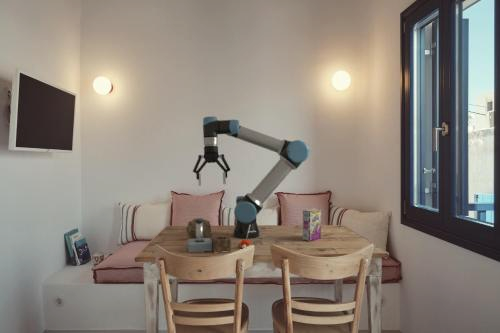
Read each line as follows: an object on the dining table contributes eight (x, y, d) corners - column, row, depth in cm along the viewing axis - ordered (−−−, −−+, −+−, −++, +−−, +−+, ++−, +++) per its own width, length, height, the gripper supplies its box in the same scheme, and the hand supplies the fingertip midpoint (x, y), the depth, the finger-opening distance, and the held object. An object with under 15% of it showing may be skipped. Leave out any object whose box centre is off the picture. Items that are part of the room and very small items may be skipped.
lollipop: (257, 249, 168) (257, 225, 168) (238, 249, 167) (237, 225, 167) (256, 246, 174) (255, 222, 174) (237, 246, 173) (237, 223, 173)
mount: (227, 247, 171) (227, 235, 171) (230, 251, 163) (230, 239, 163) (211, 248, 169) (211, 236, 169) (214, 253, 161) (214, 240, 161)
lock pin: (203, 247, 171) (203, 218, 171) (204, 250, 167) (204, 219, 166) (194, 248, 170) (194, 218, 170) (195, 250, 166) (195, 220, 165)
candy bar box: (309, 241, 182) (309, 211, 182) (302, 240, 186) (302, 210, 186) (321, 238, 190) (321, 209, 190) (314, 236, 194) (314, 208, 194)
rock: (214, 238, 194) (210, 222, 193) (189, 246, 192) (185, 229, 190) (211, 228, 214) (207, 213, 212) (188, 234, 211) (184, 219, 210)
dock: (209, 245, 175) (209, 237, 175) (212, 251, 164) (212, 243, 164) (187, 247, 172) (187, 239, 172) (189, 252, 162) (189, 244, 162)
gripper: (188, 145, 176) (190, 186, 176) (235, 144, 184) (236, 184, 184) (186, 146, 183) (188, 185, 183) (231, 145, 191) (232, 183, 191)
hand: (212, 185), depth 184 cm, fingers open, 13 cm apart
